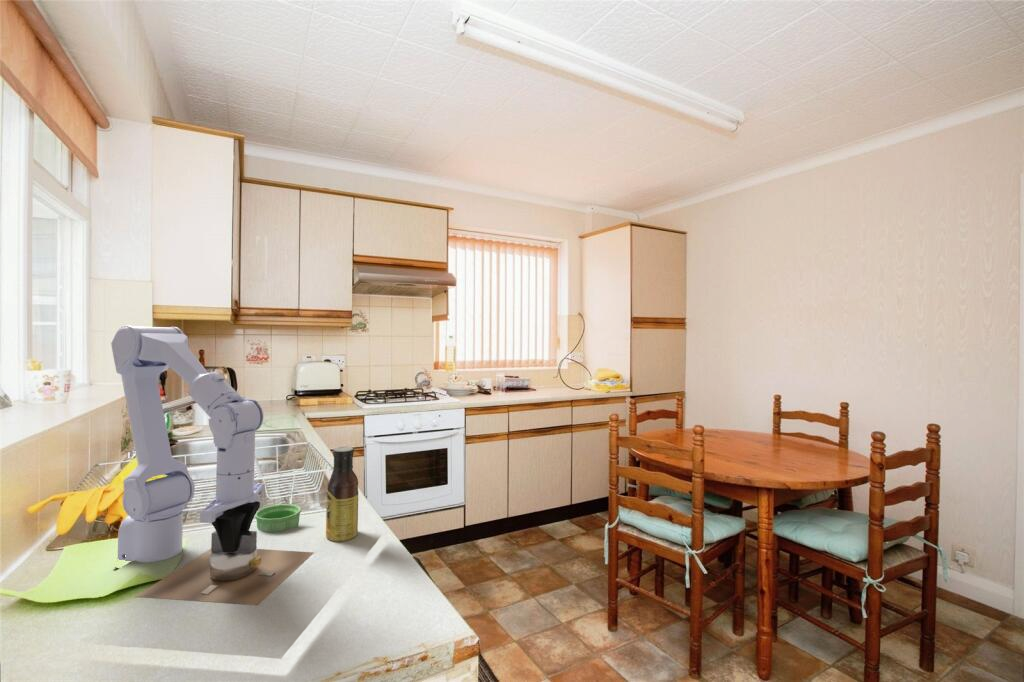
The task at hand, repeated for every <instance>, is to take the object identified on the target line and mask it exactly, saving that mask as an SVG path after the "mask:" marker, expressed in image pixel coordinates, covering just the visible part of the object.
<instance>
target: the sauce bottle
mask: <svg viewBox="0 0 1024 682" xmlns="http://www.w3.org/2000/svg"><path fill="white" fill-rule="evenodd" d="M354 452H355V449H354V447H352V446H349V445H348V446H338V447H337V446H336V447H335V448H333V450H332V456H333V467H332V469H333V470H332V472H331V474H330V478H329V481H328V484H327V486H326V505H325V507H326V510H325V515H326V516H325V517H326V518H325V537H326V539H327V540H328V541H331V542H335V543H336V542H337V543H338V542H339V543H340V542H346V541H349V540H352V539H354V538H356V536H357V535H358V530H359V528H358V526H359V479H358V476H357V475H356V473H355V472H354V470H353V468H354V465H353V463H354V462H353V461H354V459H353V458H354V454H355V453H354Z"/></svg>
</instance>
